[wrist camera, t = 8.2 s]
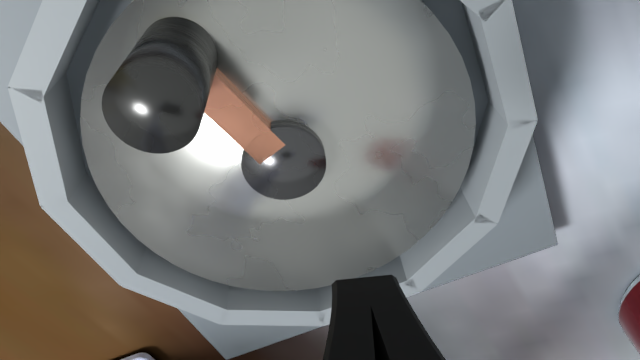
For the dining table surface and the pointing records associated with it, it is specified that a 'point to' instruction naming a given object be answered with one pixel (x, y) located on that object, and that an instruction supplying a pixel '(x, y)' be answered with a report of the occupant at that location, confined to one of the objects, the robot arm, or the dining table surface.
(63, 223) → the grey shallow dish
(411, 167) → the dial
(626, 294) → the soda can
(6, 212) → the dining table surface
